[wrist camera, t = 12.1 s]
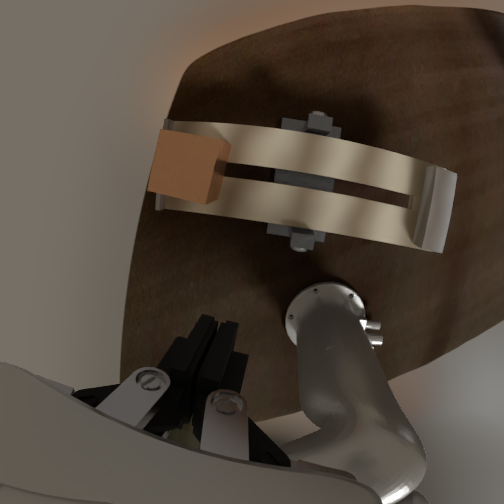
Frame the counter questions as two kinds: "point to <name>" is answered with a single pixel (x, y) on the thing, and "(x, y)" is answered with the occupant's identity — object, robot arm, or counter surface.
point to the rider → (189, 166)
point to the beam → (322, 202)
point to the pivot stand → (305, 179)
